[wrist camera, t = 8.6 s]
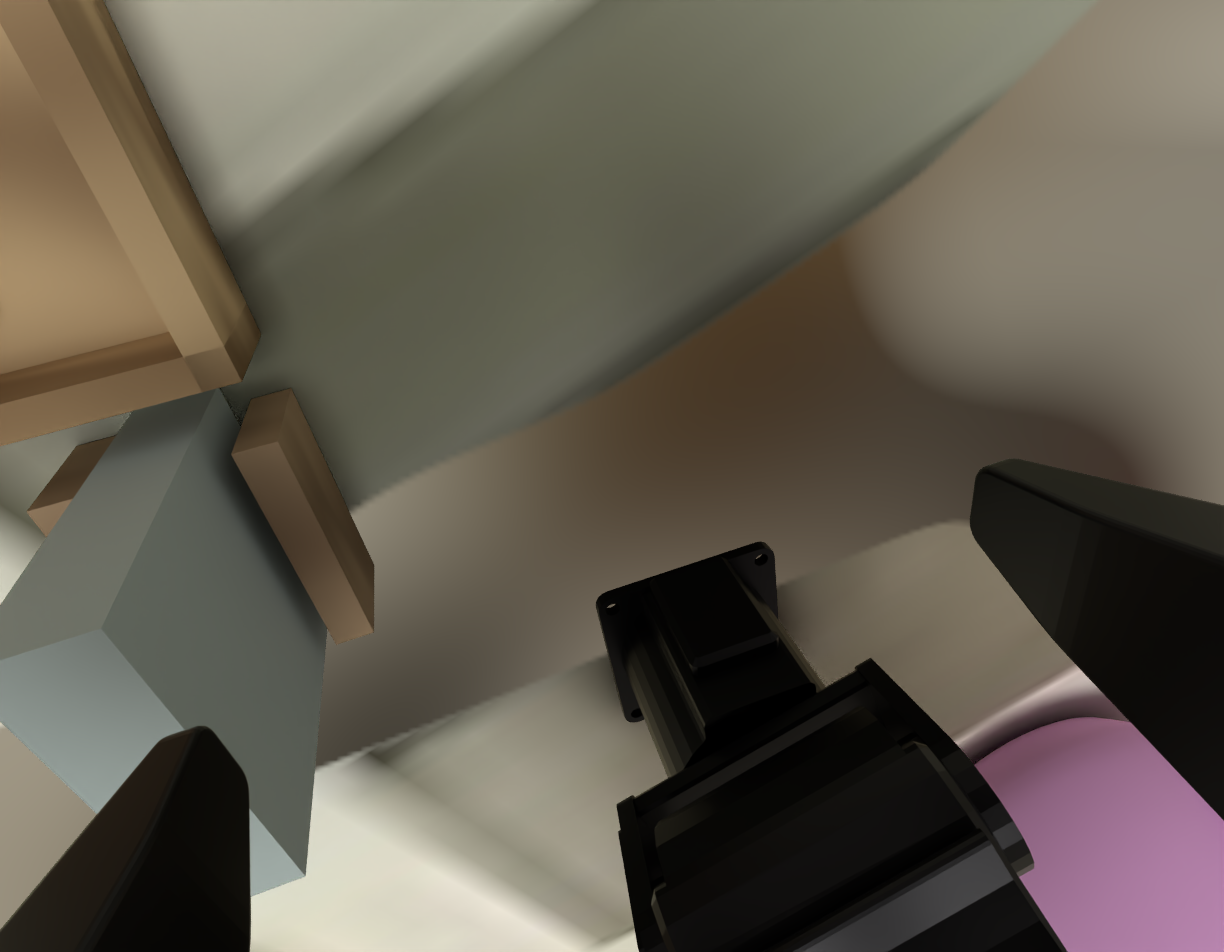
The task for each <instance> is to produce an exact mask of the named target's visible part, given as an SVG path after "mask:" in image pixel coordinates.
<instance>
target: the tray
mask: <svg viewBox="0 0 1224 952" xmlns="http://www.w3.org/2000/svg"><path fill="white" fill-rule="evenodd" d="M260 336H261V333H260V331H259V329H258V327H257V325H256V322H255V320H254V318H253V316H252V314H251V312H250V310H249V308H248V306H247V303H246V301H245V299H244V297H243V295H242V293H241V291H240V289H239V287H238V284H237V282H236V280H235V278H234V276H233V274H232V272H231V270H230V268H229V265H228V263H227V261H226V259H225V257H224V255H223V253H222V251H221V249H220V246H219V244H218V242H217V240H216V238H215V236H214V234H213V232H212V230H211V227H210V225H209V223H208V221H207V219H206V217H205V215H204V213H203V211H202V208H201V206H200V204H199V202H198V200H197V198H196V196H195V194H194V192H193V189H192V187H191V185H190V183H189V181H188V179H187V177H186V175H185V173H184V170H183V168H182V166H181V164H180V162H179V160H178V158H177V156H176V154H175V151H174V149H173V147H172V145H171V143H170V141H169V139H168V137H167V135H166V132H165V130H164V128H163V126H162V124H161V122H160V120H159V118H158V116H157V113H156V111H155V109H154V107H153V105H152V103H151V101H150V99H149V97H148V94H147V92H146V90H145V88H144V86H143V84H142V82H141V80H140V77H139V75H138V73H137V71H136V69H135V67H134V65H133V63H132V61H131V58H130V56H129V54H128V52H127V50H126V48H125V46H124V44H123V42H122V39H121V37H120V35H119V33H118V31H117V29H116V27H115V25H114V23H113V20H112V18H111V16H110V14H109V12H108V10H107V8H106V6H105V4H104V1H103V0H0V446H3V445H7V444H10V443H14V442H18V441H22V440H25V439H29V438H33V437H37V436H40V435H44V434H48V433H52V432H55V431H59V430H63V429H67V428H70V427H74V426H78V425H82V424H85V423H89V422H93V421H97V420H100V419H104V418H108V417H112V416H115V415H119V414H123V413H127V412H130V411H134V410H138V409H142V408H145V407H149V406H153V405H157V404H160V403H164V402H168V401H172V400H175V399H179V398H183V397H187V396H190V395H194V394H198V393H202V392H205V391H209V390H213V389H217V388H221V387H224V386H228V385H232V384H236V383H239V382H242V380H243V378H244V375H245V373H246V371H247V368H248V366H249V363H250V361H251V358H252V356H253V353H254V351H255V349H256V346H257V344H258V341H259V339H260Z"/></svg>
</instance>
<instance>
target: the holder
mask: <svg viewBox="0 0 1224 952" xmlns="http://www.w3.org/2000/svg"><path fill="white" fill-rule="evenodd" d="M115 437H116V436H113V437H109V438H105V439H101V440H98V441H94V442H90V443H87V444H83V445H79V446H76V448H75V449H74V450H73V451H72V453H71V454H70V455H69V457H68V458H67V459H66V461H65V462H64V463H63V465H62V466H61V467H60V468H59V470H58V471H57V472H56V474H55V475H54V476H53V478H52V479H51V480H50V482H49V483H48V484H47V486H46V487H45V488H44V489H43V491H42V492H41V493H40V495H39V496H38V497H37V499H36V500H35V501H34V503H33V504H32V505H31V506H30V508H29V509H28V510H27V513H28V514H29V515H30V517H31V518H32V519H33V521H34V522H35V523H36V524H37V526H38V527H39V528H40V530H41V531H42V532H43V533H44V535H45V536H46V537H47V536H48V535H49V533H50V532H51V530H52V529H53V527H54V526H55V524H56V523H57V521H58V520H59V519H60V517H61V516H62V514H63V513H64V511H65V510H66V508H67V507H68V505H69V504H70V502H71V501H72V499H73V498H74V497H75V495H76V494H77V492H78V491H79V489H80V488H81V486H82V485H83V483H84V482H85V480H86V479H87V478H88V476H89V475H90V473H91V472H92V470H93V469H94V467H95V466H96V464H97V463H98V461H99V460H100V458H101V457H102V456H103V454H104V453H105V451H106V450H107V448H108V447H109V445H110V444H111V442H112V441H113V439H114V438H115ZM231 455H232V457H233V459H234V461H235V462H236V464H237V466H238V468H239V470H240V471H241V473H242V475H243V477H244V479H245V481H246V482H247V484H248V486H249V488H250V490H251V491H252V493H253V495H254V497H255V499H256V500H257V502H258V504H259V506H260V508H261V509H262V511H263V513H264V515H265V517H266V519H267V520H268V522H269V524H270V526H271V528H272V529H273V531H274V533H275V535H276V537H277V538H278V540H279V542H280V544H281V546H282V547H283V549H284V551H285V553H286V555H287V556H288V558H289V560H290V562H291V564H292V566H293V567H294V569H295V571H296V573H297V575H298V576H299V578H300V580H301V582H302V584H303V585H304V587H305V589H306V591H307V593H308V594H309V596H310V598H311V600H312V602H313V603H314V605H315V607H316V609H317V611H318V613H319V614H320V616H321V618H322V620H323V622H324V623H325V625H326V627H327V629H328V631H329V632H330V634H331V636H332V638H333V640H334V641H335V643H336V645H337V644H340V643H343V642H346V641H348V640H352V639H355V638H358V637H361V636H364V635H367V634H370V633H374V564H373V562H372V559H371V557H370V555H369V553H368V551H367V549H366V547H365V545H364V542H363V540H362V538H361V536H360V534H359V532H358V530H357V527H356V526H355V523H354V521H353V519H352V517H351V515H350V513H349V510H348V508H347V506H346V504H345V502H344V500H343V498H342V496H341V493H340V491H339V489H338V487H337V485H336V483H335V481H334V479H333V476H332V474H331V472H330V470H329V468H328V466H327V464H326V461H325V459H324V457H323V455H322V453H321V451H320V449H319V447H318V444H317V442H316V440H315V438H314V436H313V434H312V432H311V430H310V427H309V425H308V423H307V421H306V419H305V417H304V415H303V412H302V410H301V408H300V406H299V404H298V402H297V400H296V398H295V395H294V393H293V391H292V389H291V388H290V389H286V390H283V391H279V392H275V393H272V394H268V395H264V396H261V397H257V398H253V399H251V401H250V404H249V406H248V409H247V412H246V415H245V417H244V420H243V423H242V426H241V428H240V431H239V434H238V437H237V439H236V442H235V445H234V448H233V450H232V453H231Z"/></svg>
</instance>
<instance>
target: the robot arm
mask: <svg viewBox="0 0 1224 952" xmlns="http://www.w3.org/2000/svg"><path fill="white" fill-rule="evenodd" d="M970 528H971V531H972V534H973V536H974V538H975V540H976V542H977V543H978V544H979V546H980V547H981V548H982V550H983V551H984V552H985V553H986V555H987V556H988V557H989V559H990V560H991V561H992V563H993V564H994V565H995V566H996V568H997V569H998V570H999V572H1000V573H1001V574H1002V575H1003V577H1004V578H1005V579H1006V581H1007V582H1008V583H1009V584H1010V586H1011V587H1012V588H1013V590H1014V591H1015V592H1016V593H1017V595H1018V596H1019V597H1020V599H1021V600H1022V601H1023V602H1024V604H1025V605H1026V606H1027V608H1028V609H1029V610H1030V612H1031V613H1032V614H1033V615H1034V617H1035V618H1036V619H1037V621H1038V622H1039V623H1040V624H1041V626H1042V627H1043V628H1044V629H1045V630H1046V632H1047V633H1048V634H1049V635H1050V636H1051V638H1052V639H1053V640H1054V641H1055V642H1056V643H1057V645H1058V646H1059V647H1060V648H1061V649H1062V650H1063V651H1064V652H1065V653H1066V655H1067V656H1068V657H1069V658H1070V659H1071V660H1072V661H1073V662H1074V663H1075V664H1076V665H1077V666H1078V667H1079V668H1080V669H1081V670H1082V672H1083V673H1084V674H1085V675H1086V676H1087V677H1088V678H1089V679H1090V680H1091V681H1092V682H1093V683H1094V684H1095V685H1096V686H1097V687H1098V688H1099V690H1100V691H1101V692H1102V693H1103V694H1104V695H1105V696H1106V697H1107V698H1108V699H1109V700H1110V701H1111V702H1112V703H1113V704H1114V705H1115V706H1116V707H1117V709H1118V710H1119V711H1120V712H1121V713H1122V714H1123V715H1124V716H1125V717H1126V718H1127V719H1128V720H1129V721H1130V722H1131V723H1132V724H1133V725H1134V727H1135V728H1136V729H1137V730H1138V731H1139V732H1140V733H1141V734H1142V735H1143V736H1144V737H1145V738H1146V739H1147V740H1148V741H1149V742H1150V743H1151V745H1152V746H1153V747H1154V748H1155V749H1156V750H1157V751H1158V752H1159V753H1160V754H1161V755H1162V756H1163V757H1164V758H1165V759H1166V760H1167V761H1168V762H1169V764H1170V765H1171V766H1172V767H1173V768H1174V769H1175V770H1176V771H1177V772H1178V773H1179V774H1180V775H1181V776H1182V777H1183V778H1184V779H1185V780H1186V782H1187V783H1188V784H1189V785H1190V786H1191V787H1192V788H1193V789H1194V790H1195V791H1196V792H1197V793H1198V794H1199V795H1200V796H1201V797H1202V798H1203V799H1204V801H1205V802H1206V803H1207V804H1208V805H1209V806H1210V807H1211V808H1212V809H1213V810H1214V811H1215V812H1216V813H1217V814H1218V815H1219V816H1220V817H1221V819H1222V820H1223V821H1224V505H1220V504H1215V503H1211V502H1206V501H1202V500H1197V499H1193V498H1188V497H1184V496H1179V495H1175V494H1171V493H1166V492H1162V491H1158V490H1153V489H1149V488H1144V487H1140V486H1136V485H1131V484H1127V483H1122V482H1118V481H1113V480H1109V479H1105V478H1100V477H1096V476H1091V475H1087V474H1082V473H1078V472H1074V471H1069V470H1065V469H1060V468H1056V467H1052V466H1047V465H1043V464H1038V463H1034V462H1029V461H1024V460H1021V459H1006V460H1003V461H1000V462H997V463H994V464H991V465H988V466H985V467H983V468H982V469H980V470H979V472H978V474H977V475H976V478H975V485H974V493H973V500H972V508H971V515H970ZM761 554H762V555H761ZM759 555H761V556H760V557H759V558H757V559H756V557H757V556H759ZM611 604H615V605H614V606H613V607H611V608H607V607H608V606H609V605H611ZM596 609H597V613H598V617H599V621H600V625H601V629H602V633H603V636H604V641H605V644H606V648H607V652H608V656H609V660H610V664H611V668H612V672H613V676H614V680H615V684H616V688H617V692H618V696H619V700H620V703H621V707H622V711H623V713H624V716H625V718H626V720H627V721H629V722H639V721H642V720H644V719H645V721H646V724H647V726H648V729H649V731H650V734H651V736H652V739H653V741H654V744H655V746H656V749H657V751H658V754H659V756H660V759H661V761H662V764H663V766H664V769H665V771H666V774H667V776H668V779H666V780H664V781H662V782H661V783H659V784H657V785H655V786H654V787H652V788H650V789H649V790H647V791H645V792H643V793H642V794H640V795H638V796H636V797H634V796H633V795H632V796H630V797H628V798H627V799H625V800H623V801H621V802H620V803H618V804H617V811H618V817H619V823H620V829H621V830H620V831H618V834H619V840H620V846H621V852H622V858H623V863H624V869H625V875H626V881H627V887H628V893H629V898H630V904H631V910H632V916H633V922H634V928H635V933H636V939H637V945H638V949H639V952H1068V951H1067V950H1066V948H1065V947H1064V945H1063V944H1062V942H1061V941H1060V939H1059V938H1058V936H1057V935H1056V933H1055V931H1054V930H1053V928H1052V927H1051V925H1050V924H1049V922H1048V921H1047V919H1046V918H1045V916H1044V915H1043V913H1042V912H1041V910H1040V909H1039V907H1038V905H1037V904H1036V902H1035V901H1034V899H1033V898H1032V896H1031V895H1030V893H1029V892H1028V890H1027V889H1026V887H1025V886H1024V884H1023V883H1022V881H1021V879H1020V878H1019V877H1020V876H1022V875H1024V874H1025V873H1027V872H1029V871H1031V870H1032V869H1034V860H1033V857H1032V854H1031V852H1030V850H1029V848H1028V846H1027V844H1026V842H1025V840H1024V838H1023V836H1022V834H1021V833H1020V831H1019V829H1018V828H1017V826H1016V824H1015V823H1014V821H1013V819H1012V818H1011V816H1010V815H1009V813H1008V812H1007V810H1006V809H1005V807H1004V805H1003V804H1002V802H1001V801H1000V800H999V798H998V797H997V795H996V794H995V792H994V791H993V790H992V788H991V787H990V785H989V784H988V783H987V781H986V780H985V779H984V777H983V776H982V775H981V773H980V772H979V771H978V770H977V768H976V767H975V766H974V764H973V763H972V762H971V761H970V760H969V758H968V757H967V756H966V755H965V754H964V752H963V751H962V750H961V749H960V748H959V747H958V746H957V744H956V743H955V742H954V741H953V740H952V739H951V738H950V737H949V736H948V735H947V734H946V733H945V732H944V731H943V730H942V729H941V728H940V727H939V726H938V725H937V724H936V723H935V722H934V721H933V720H932V719H931V718H930V717H929V716H928V715H927V714H926V713H925V712H924V711H923V710H922V709H921V708H920V707H919V706H918V705H917V704H916V703H915V702H914V701H913V700H912V699H911V698H910V697H909V696H908V695H907V694H906V693H905V692H904V691H903V690H902V689H901V688H900V687H899V686H898V685H897V684H896V683H895V682H894V681H893V680H892V679H891V678H890V677H889V676H888V675H887V674H886V673H885V672H884V671H883V670H882V669H881V668H880V667H879V666H878V665H877V664H876V663H875V662H874V661H873V660H872V659H871V658H869V659H868V660H866V661H864V662H862V663H861V664H859V665H857V666H856V667H855V671H853V672H851V673H850V674H848V675H846V676H845V677H843V678H841V679H839V680H838V681H836V682H834V683H832V684H831V685H829V686H827V687H825V685H824V684H823V683H822V681H821V680H820V678H819V677H818V676H817V674H816V673H815V671H814V670H813V668H812V667H811V666H810V664H809V663H808V661H807V660H806V659H805V657H804V656H803V654H802V653H801V651H800V650H799V649H798V647H797V646H796V644H795V643H794V642H793V640H792V639H791V637H790V636H789V634H788V633H787V632H786V630H785V629H784V627H783V626H782V625H781V623H780V622H779V620H778V606H777V590H776V575H775V558H774V553H773V551H772V550H771V548H770V547H769V546H768V545H767V544H766V543H764V542H755V543H752V544H749V545H746V546H743V547H740V548H737V549H735V550H732V551H728V552H725V553H722V554H719V555H716V556H713V557H710V558H707V559H704V560H701V561H698V562H695V563H692V564H689V565H686V566H683V567H680V568H677V569H674V570H671V571H668V572H665V573H662V574H659V575H656V576H653V577H650V578H646V579H644V580H641V581H638V582H634V583H631V584H628V585H625V586H622V587H619V588H616V589H613V590H610V591H607V592H605V593H603V594H602V595H601V596H599V597H598V599H597V601H596ZM250 940H251V880H250V800H249V786H248V781H247V778H246V775H245V773H244V771H243V769H242V768H241V766H240V765H239V764H238V763H237V761H236V760H235V759H234V757H233V756H232V755H231V753H230V752H229V751H228V749H227V748H226V747H225V745H224V744H223V743H222V741H221V740H220V739H219V738H218V736H217V735H216V734H215V732H214V731H213V730H212V729H210V728H209V727H207V726H195V727H192V728H189V729H186V730H183V731H180V732H177V733H174V734H171V735H168V736H166V737H164V738H162V739H161V740H160V741H158V742H157V743H156V745H155V746H154V747H153V748H152V749H151V750H150V751H149V753H148V754H147V755H146V756H145V757H144V759H143V760H142V761H141V762H140V763H139V765H138V766H137V767H136V768H135V769H134V771H133V772H132V773H131V774H130V775H129V776H128V778H127V779H126V780H125V781H124V782H123V784H122V785H121V786H120V787H119V788H118V790H117V791H116V792H115V793H114V794H113V796H112V797H111V798H110V799H109V800H108V802H107V803H106V804H105V805H104V806H103V808H102V809H101V810H100V811H99V812H98V814H97V815H96V816H95V817H94V819H93V820H92V821H91V822H90V823H89V824H88V826H87V827H86V828H85V829H84V830H83V831H82V833H81V834H80V835H79V836H78V838H77V839H76V840H75V841H74V842H73V844H72V845H71V846H70V847H69V848H68V849H67V851H66V852H65V853H64V854H63V855H62V857H61V858H60V859H59V860H58V861H57V863H56V864H55V865H54V866H53V867H52V869H51V870H50V871H49V872H48V873H47V875H46V876H45V877H44V878H43V879H42V881H41V882H40V883H39V884H38V885H37V886H36V888H35V889H34V890H33V891H32V892H31V894H30V895H29V896H28V897H27V899H26V900H25V901H24V902H23V903H22V904H21V906H20V907H19V908H18V909H17V910H16V912H15V913H14V914H13V915H12V916H11V918H10V919H9V920H8V921H7V922H6V924H5V925H4V926H3V927H2V928H1V929H0V952H250Z"/></svg>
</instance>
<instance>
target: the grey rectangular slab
mask: <svg viewBox="0 0 1224 952" xmlns="http://www.w3.org/2000/svg"><path fill="white" fill-rule="evenodd" d="M240 428H241V427H240V425H239V423H238V421H237V420H236V418H235V416H234V414H233V412H232V410H231V409H230V407H229V405H228V403H227V401H226V400H225V398H224V396H223V394H222V392H221V390H220V389H219V388H217V389H213V390H209V391H205V392H202V393H198V394H194V395H190V396H187V397H183V398H179V399H175V400H172V401H168V402H164V403H160V404H157V405H153V406H149V407H145V408H142V409H138V410H134V411H133V412H132V413H131V415H130V416H129V417H128V419H127V420H126V422H125V423H124V425H123V426H122V428H121V429H120V431H119V432H118V434H117V435H116V437H115V438H114V439H113V441H112V442H111V444H110V445H109V447H108V448H107V450H106V451H105V453H104V454H103V456H102V457H101V458H100V460H99V461H98V463H97V464H96V466H95V467H94V469H93V470H92V472H91V473H90V475H89V476H88V478H87V479H86V480H85V482H84V483H83V485H82V486H81V488H80V489H79V491H78V492H77V494H76V495H75V497H74V498H73V499H72V501H71V502H70V504H69V505H68V507H67V508H66V510H65V511H64V513H63V514H62V516H61V517H60V519H59V520H58V521H57V523H56V524H55V526H54V527H53V529H52V530H51V532H50V533H49V535H48V536H47V538H46V539H45V540H44V542H43V543H42V545H41V546H40V548H39V549H38V551H37V552H36V554H35V555H34V557H33V558H32V560H31V561H30V562H29V564H28V565H27V567H26V568H25V570H24V571H23V573H22V574H21V576H20V577H19V579H18V580H17V581H16V583H15V584H14V586H13V587H12V589H11V590H10V592H9V593H8V595H7V596H6V598H5V599H4V601H3V602H2V603H1V605H0V722H1V723H2V724H3V725H4V726H6V727H7V728H8V729H9V730H10V731H11V732H12V733H13V734H14V735H15V736H16V737H17V738H18V739H19V740H20V741H21V742H22V743H23V744H24V745H25V746H26V747H27V748H28V749H29V750H31V751H32V752H33V753H34V754H35V755H36V756H37V757H38V758H39V759H40V760H41V761H42V762H43V763H44V764H45V765H46V766H47V767H48V768H49V769H50V770H52V772H53V773H55V774H56V775H57V776H58V777H59V778H60V779H61V780H62V781H63V782H64V783H65V784H66V785H67V786H68V787H69V788H70V789H71V790H72V791H73V792H74V793H75V794H76V795H77V796H79V797H80V798H81V799H82V800H83V801H84V802H85V803H86V804H87V805H88V806H89V807H90V808H91V809H92V810H93V811H94V812H95V813H96V814H98V812H99V811H100V810H101V809H102V808H103V806H104V805H105V804H106V803H107V802H108V800H109V799H110V798H111V797H112V796H113V794H114V793H115V792H116V791H117V790H118V788H119V787H120V786H121V785H122V784H123V782H124V781H125V780H126V779H127V778H128V776H129V775H130V774H131V773H132V772H133V771H134V769H135V768H136V767H137V766H138V765H139V763H140V762H141V761H142V760H143V759H144V757H145V756H146V755H147V754H148V753H149V751H150V750H151V749H152V748H153V747H154V746H155V745H156V743H157V742H158V741H160V740H161V739H162V738H164V737H166V736H168V735H171V734H174V733H177V732H180V731H183V730H186V729H189V728H192V727H195V726H207V727H209V728H210V729H212V730H213V731H214V732H215V734H216V735H217V736H218V738H219V739H220V740H221V741H222V743H223V744H224V745H225V747H226V748H227V749H228V751H229V752H230V753H231V755H232V756H233V757H234V759H235V760H236V761H237V763H238V764H239V765H240V766H241V768H242V769H243V771H244V773H245V775H246V778H247V781H248V786H249V800H250V880H251V896H254V895H257V894H259V893H262V892H265V891H267V890H270V889H273V888H275V887H278V886H281V885H284V884H286V883H289V882H292V881H294V880H297V879H300V878H302V877H305V876H306V864H307V853H308V842H309V830H310V819H311V808H312V796H313V785H314V773H315V761H316V751H317V739H318V728H319V717H320V704H321V693H322V682H323V671H324V660H325V649H326V648H325V647H326V637H327V627H326V625H325V623H324V622H323V620H322V618H321V616H320V614H319V613H318V611H317V609H316V607H315V605H314V603H313V602H312V600H311V598H310V596H309V594H308V593H307V591H306V589H305V587H304V585H303V584H302V582H301V580H300V578H299V576H298V575H297V573H296V571H295V569H294V567H293V566H292V564H291V562H290V560H289V558H288V556H287V555H286V553H285V551H284V549H283V547H282V546H281V544H280V542H279V540H278V538H277V537H276V535H275V533H274V531H273V529H272V528H271V526H270V524H269V522H268V520H267V519H266V517H265V515H264V513H263V511H262V509H261V508H260V506H259V504H258V502H257V500H256V499H255V497H254V495H253V493H252V491H251V490H250V488H249V486H248V484H247V482H246V481H245V479H244V477H243V475H242V473H241V471H240V470H239V468H238V466H237V464H236V462H235V461H234V459H233V457H232V455H231V453H232V450H233V448H234V445H235V442H236V439H237V437H238V434H239V431H240Z"/></svg>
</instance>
